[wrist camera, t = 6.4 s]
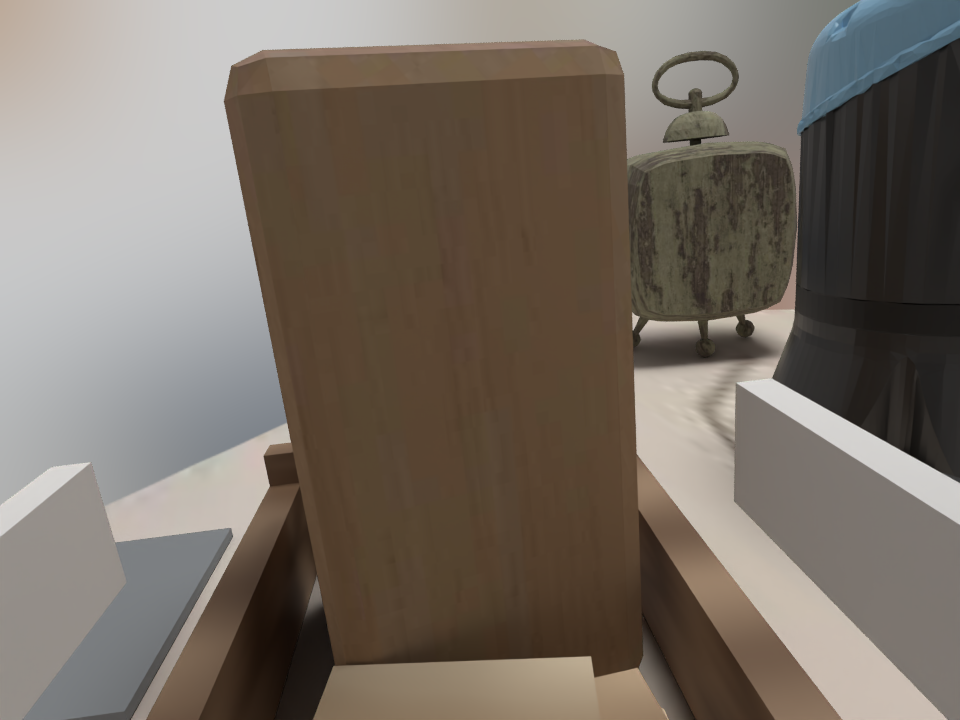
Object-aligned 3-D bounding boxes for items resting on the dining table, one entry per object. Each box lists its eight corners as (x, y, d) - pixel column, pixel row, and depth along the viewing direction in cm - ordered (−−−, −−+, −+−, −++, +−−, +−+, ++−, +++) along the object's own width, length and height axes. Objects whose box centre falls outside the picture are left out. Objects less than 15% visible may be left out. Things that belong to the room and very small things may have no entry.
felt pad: (0, 566, 33) (-3, 557, 32) (233, 536, 33) (231, 527, 33) (-235, 774, 21) (-242, 762, 21) (128, 722, 22) (124, 711, 21)
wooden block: (324, 599, 27) (228, 109, 22) (533, 538, 30) (495, 93, 25) (361, 799, 18) (212, 40, 13) (656, 683, 21) (639, 28, 16)
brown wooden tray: (293, 558, 31) (270, 445, 29) (622, 514, 31) (618, 402, 30) (125, 1018, 14) (45, 810, 12) (849, 900, 14) (868, 688, 13)
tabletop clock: (757, 331, 61) (763, 52, 54) (802, 356, 52) (816, 27, 45) (608, 345, 62) (596, 70, 55) (628, 372, 53) (617, 49, 46)
